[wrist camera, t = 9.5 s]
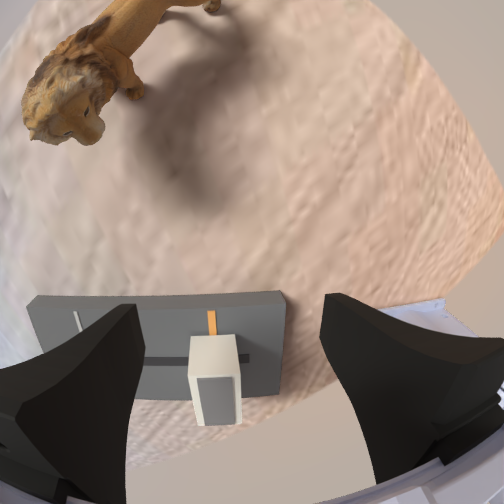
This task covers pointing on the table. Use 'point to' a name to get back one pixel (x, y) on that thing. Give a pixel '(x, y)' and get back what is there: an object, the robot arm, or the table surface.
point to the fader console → (179, 334)
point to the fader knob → (215, 380)
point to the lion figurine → (92, 71)
